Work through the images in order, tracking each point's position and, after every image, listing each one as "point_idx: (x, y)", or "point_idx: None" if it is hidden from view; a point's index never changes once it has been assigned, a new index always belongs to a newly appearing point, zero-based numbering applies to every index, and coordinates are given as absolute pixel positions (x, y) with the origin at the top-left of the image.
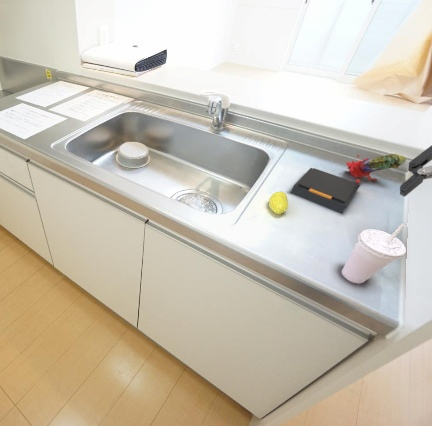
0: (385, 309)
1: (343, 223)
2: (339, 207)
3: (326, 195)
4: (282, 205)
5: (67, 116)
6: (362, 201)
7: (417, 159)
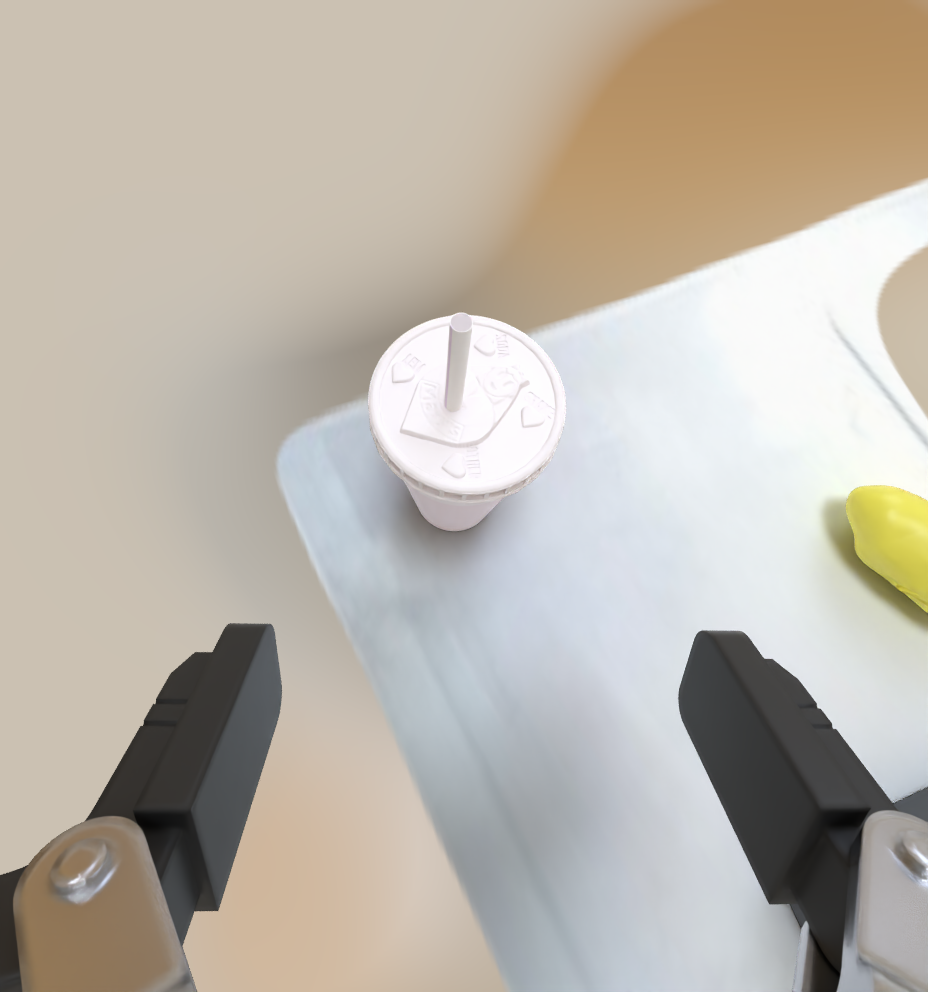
0: (308, 453)
1: (701, 782)
2: None
3: None
4: (891, 503)
5: None
6: None
7: None
